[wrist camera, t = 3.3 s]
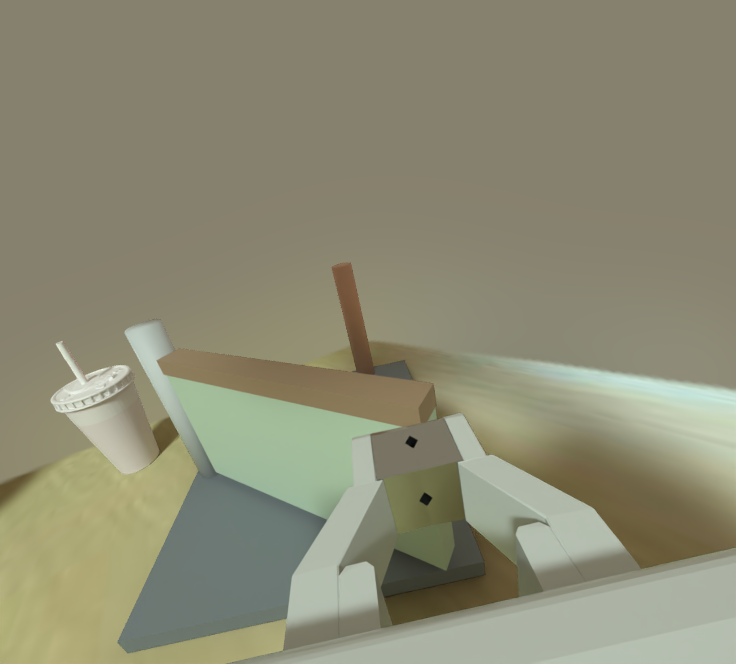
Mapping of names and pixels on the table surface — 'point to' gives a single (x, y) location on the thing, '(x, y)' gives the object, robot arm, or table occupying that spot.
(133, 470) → the smoothie
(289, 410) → the panel
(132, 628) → the board
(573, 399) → the table surface
